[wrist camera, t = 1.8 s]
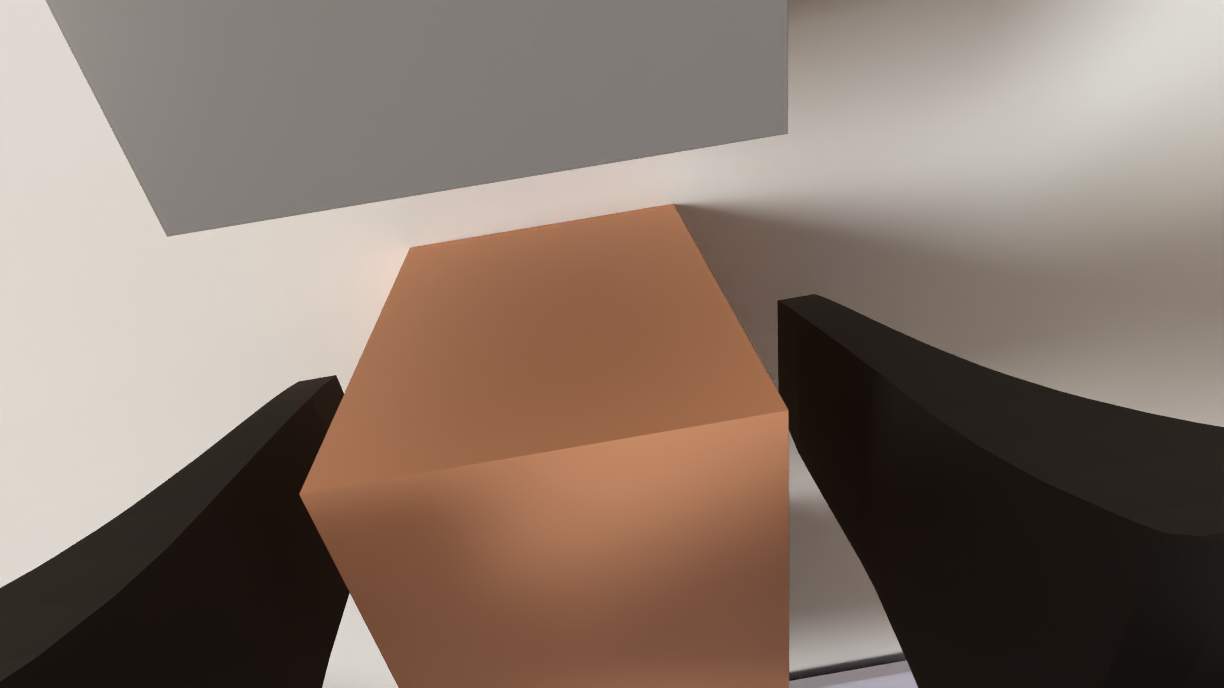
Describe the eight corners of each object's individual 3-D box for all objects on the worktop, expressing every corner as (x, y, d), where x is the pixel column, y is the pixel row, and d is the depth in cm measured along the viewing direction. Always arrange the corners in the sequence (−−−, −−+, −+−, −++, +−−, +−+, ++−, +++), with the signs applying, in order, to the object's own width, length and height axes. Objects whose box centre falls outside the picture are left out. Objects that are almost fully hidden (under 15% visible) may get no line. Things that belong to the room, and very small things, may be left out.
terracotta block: (693, 414, 13) (789, 695, 8) (475, 452, 13) (435, 758, 8) (673, 203, 11) (788, 410, 6) (410, 247, 11) (298, 494, 6)
